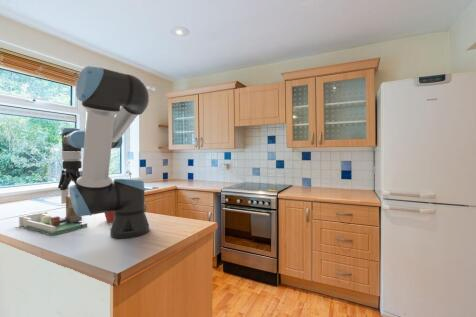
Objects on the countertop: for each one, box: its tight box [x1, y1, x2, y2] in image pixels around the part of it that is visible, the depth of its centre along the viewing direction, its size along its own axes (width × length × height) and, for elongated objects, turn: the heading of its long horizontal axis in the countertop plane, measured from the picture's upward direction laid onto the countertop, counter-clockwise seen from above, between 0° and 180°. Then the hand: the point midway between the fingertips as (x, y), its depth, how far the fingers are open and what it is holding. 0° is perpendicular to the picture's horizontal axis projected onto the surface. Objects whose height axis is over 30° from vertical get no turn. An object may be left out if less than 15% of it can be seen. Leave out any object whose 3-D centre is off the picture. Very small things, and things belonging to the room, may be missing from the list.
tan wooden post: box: [51, 195, 83, 226], centre depth 111 cm, size 6×11×12 cm, turn 153°
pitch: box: [18, 211, 82, 236], centre depth 110 cm, size 30×11×4 cm, turn 63°
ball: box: [41, 214, 52, 224], centre depth 110 cm, size 4×4×4 cm
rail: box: [60, 217, 88, 229], centre depth 115 cm, size 24×2×2 cm, turn 63°
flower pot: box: [104, 211, 115, 223], centre depth 121 cm, size 11×11×10 cm
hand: (72, 204), depth 114 cm, fingers open, 13 cm apart
